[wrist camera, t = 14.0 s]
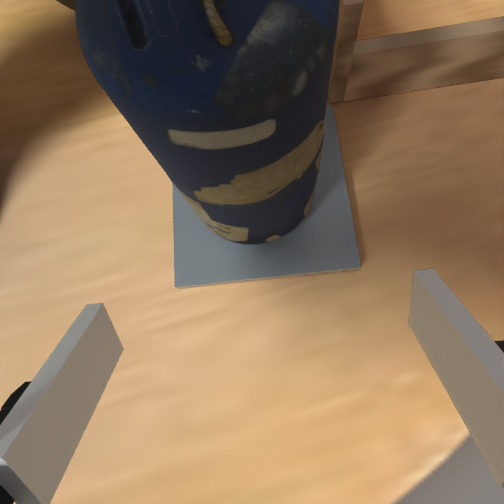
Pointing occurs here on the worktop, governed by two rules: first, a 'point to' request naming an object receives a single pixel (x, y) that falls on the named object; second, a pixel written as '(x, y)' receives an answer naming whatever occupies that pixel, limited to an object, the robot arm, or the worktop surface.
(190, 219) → the slate tile
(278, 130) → the canister
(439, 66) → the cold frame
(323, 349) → the worktop surface
